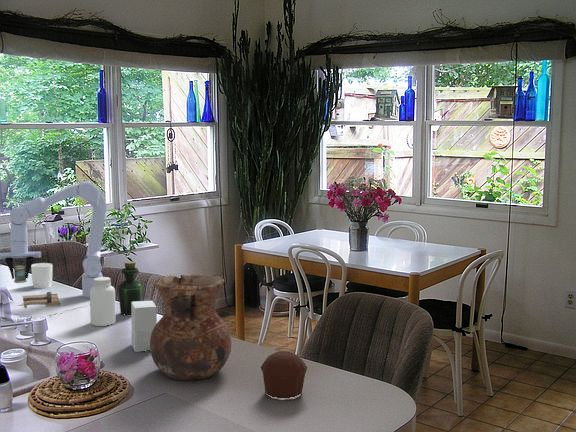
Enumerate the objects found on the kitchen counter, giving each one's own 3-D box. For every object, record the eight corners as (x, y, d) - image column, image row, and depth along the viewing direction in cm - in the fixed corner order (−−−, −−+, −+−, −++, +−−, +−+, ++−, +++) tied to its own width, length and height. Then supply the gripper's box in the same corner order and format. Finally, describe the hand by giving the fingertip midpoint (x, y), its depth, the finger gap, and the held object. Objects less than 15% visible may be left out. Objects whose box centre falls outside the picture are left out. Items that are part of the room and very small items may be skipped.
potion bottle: (113, 313, 233) (113, 261, 231) (134, 309, 238) (134, 259, 236) (125, 318, 227) (125, 265, 225) (146, 314, 232) (146, 262, 230)
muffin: (313, 400, 159) (314, 359, 158) (267, 405, 156) (268, 363, 155) (298, 382, 170) (298, 344, 169) (255, 386, 167) (256, 347, 166)
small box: (157, 350, 193) (157, 306, 192) (134, 352, 191) (134, 308, 190) (152, 342, 201) (152, 299, 200) (131, 344, 199) (130, 301, 197)
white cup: (46, 292, 261) (45, 267, 260) (27, 291, 262) (27, 266, 261) (56, 288, 268) (56, 263, 267) (39, 287, 270) (38, 262, 269)
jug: (142, 363, 183) (142, 272, 180) (216, 354, 191) (217, 268, 188) (160, 392, 162) (160, 290, 160) (242, 381, 171) (244, 284, 168)
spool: (29, 281, 244) (28, 266, 243) (19, 283, 240) (18, 268, 239) (21, 280, 246) (20, 265, 245) (11, 282, 242) (10, 267, 241)
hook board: (61, 309, 236) (60, 295, 236) (23, 312, 232) (23, 298, 231) (57, 297, 254) (56, 284, 253) (22, 299, 249) (22, 286, 248)
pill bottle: (85, 325, 218) (84, 279, 216) (100, 319, 225) (100, 275, 224) (105, 328, 215) (104, 282, 213) (120, 321, 222) (120, 277, 221)
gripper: (40, 238, 248) (40, 274, 249) (-3, 239, 242) (-2, 276, 243) (41, 241, 241) (41, 278, 243) (-3, 242, 235) (-2, 280, 237)
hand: (20, 278), depth 243 cm, fingers closed on spool, 4 cm apart
